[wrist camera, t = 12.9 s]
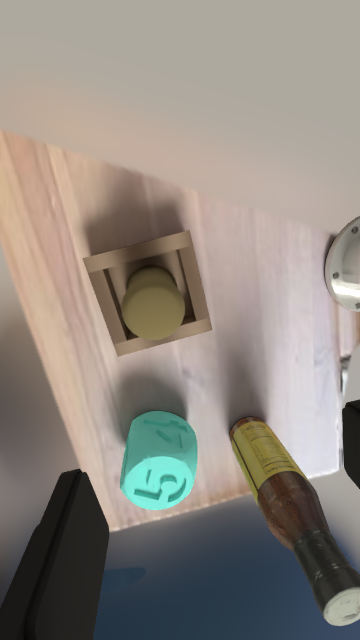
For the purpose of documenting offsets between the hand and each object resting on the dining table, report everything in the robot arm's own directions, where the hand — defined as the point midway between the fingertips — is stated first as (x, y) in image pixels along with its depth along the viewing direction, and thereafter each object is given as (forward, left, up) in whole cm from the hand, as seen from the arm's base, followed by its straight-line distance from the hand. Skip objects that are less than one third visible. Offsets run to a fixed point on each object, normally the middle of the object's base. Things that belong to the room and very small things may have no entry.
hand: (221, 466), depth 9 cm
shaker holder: (+2, -3, -24) cm, 24 cm away
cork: (+1, -3, -23) cm, 23 cm away
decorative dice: (+6, +17, -24) cm, 30 cm away
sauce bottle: (-7, +21, -24) cm, 32 cm away
